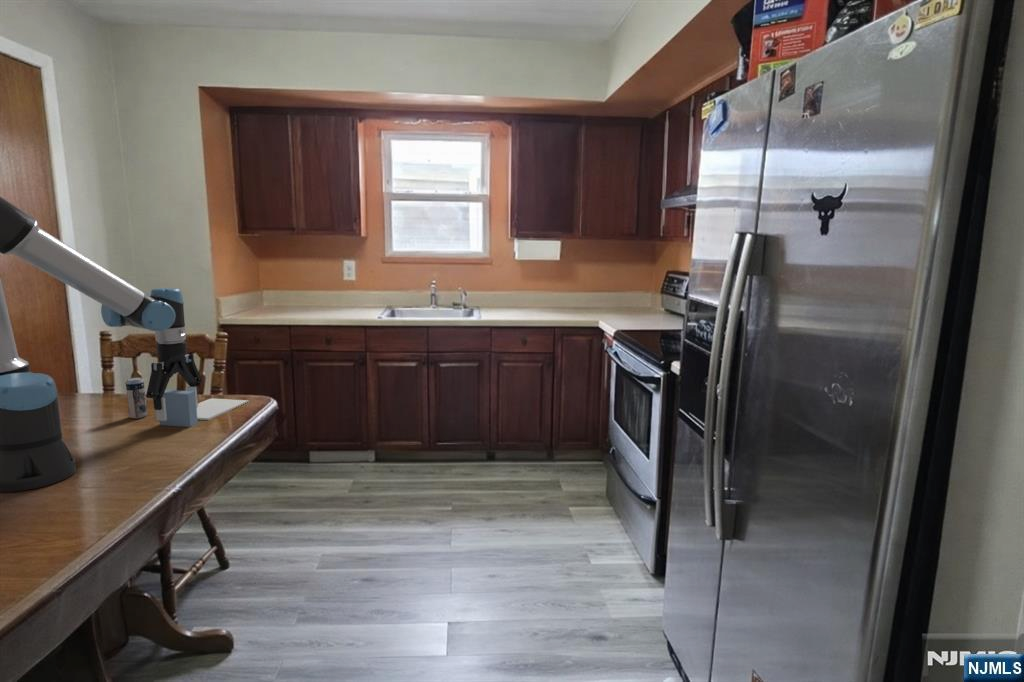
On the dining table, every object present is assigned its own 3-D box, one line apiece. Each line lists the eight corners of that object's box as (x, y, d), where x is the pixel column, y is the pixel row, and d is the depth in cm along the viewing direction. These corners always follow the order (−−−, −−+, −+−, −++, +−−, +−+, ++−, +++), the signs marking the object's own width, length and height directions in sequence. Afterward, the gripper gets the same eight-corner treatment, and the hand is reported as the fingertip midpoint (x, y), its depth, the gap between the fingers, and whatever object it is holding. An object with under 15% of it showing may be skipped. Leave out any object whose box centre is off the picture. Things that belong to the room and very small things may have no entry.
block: (190, 427, 161) (187, 394, 160) (159, 424, 163) (156, 392, 161) (197, 423, 164) (195, 391, 163) (167, 421, 166) (164, 389, 164)
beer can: (140, 419, 167) (136, 381, 165) (125, 419, 167) (121, 380, 165) (151, 414, 172) (147, 377, 170) (136, 414, 172) (132, 377, 170)
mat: (208, 420, 168) (208, 418, 167) (167, 417, 169) (167, 415, 169) (248, 402, 187) (248, 400, 187) (211, 400, 189) (210, 398, 189)
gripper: (150, 349, 147) (158, 427, 151) (211, 335, 171) (216, 402, 174) (125, 348, 148) (133, 425, 152) (189, 334, 172) (195, 401, 175)
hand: (178, 413), depth 163 cm, fingers open, 12 cm apart
